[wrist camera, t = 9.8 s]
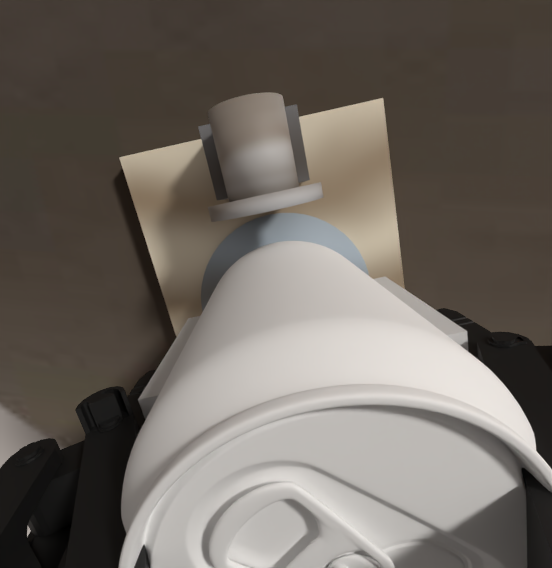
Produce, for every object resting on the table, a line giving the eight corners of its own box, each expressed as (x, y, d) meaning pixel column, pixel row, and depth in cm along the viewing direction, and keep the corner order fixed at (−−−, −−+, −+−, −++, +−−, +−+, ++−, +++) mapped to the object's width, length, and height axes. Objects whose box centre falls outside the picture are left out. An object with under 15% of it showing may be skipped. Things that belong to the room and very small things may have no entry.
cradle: (128, 159, 18) (32, 134, 11) (375, 104, 18) (456, 38, 10) (215, 439, 23) (191, 557, 16) (410, 399, 23) (482, 499, 15)
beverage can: (300, 415, 18) (365, 801, 7) (178, 331, 17) (-19, 641, 5) (403, 305, 17) (716, 553, 5) (278, 203, 15) (325, 225, 4)
